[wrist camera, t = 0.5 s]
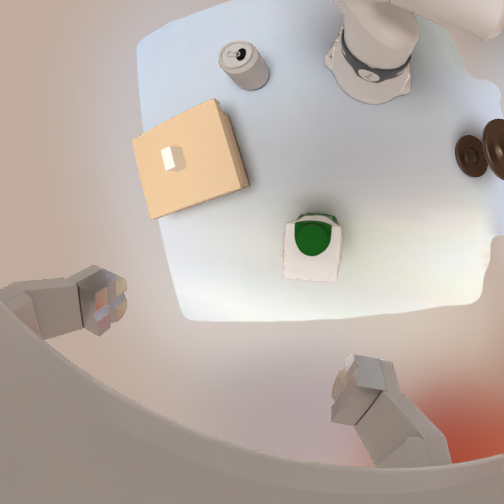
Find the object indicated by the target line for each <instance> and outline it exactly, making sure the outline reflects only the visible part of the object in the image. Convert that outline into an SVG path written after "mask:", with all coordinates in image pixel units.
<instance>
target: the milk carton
mask: <svg viewBox="0 0 504 504" xmlns="http://www.w3.org/2000/svg"><path fill="white" fill-rule="evenodd" d="M342 246H343V239H342V228H341V226H339V225H338V223H337V220H336V218H335V217H333V216H330V215H326V214H315V213H307V214H302V215H300V216H299V218H298V219H297V220H295V221H291V222H287V223H286V226H285V233H284V247H283V260H284V276H283V278H290V279H301V280H311V281H323V282H334V283H336V281H337V275H338V270H339V264H340V263H341V260H342Z"/></svg>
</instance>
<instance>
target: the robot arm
mask: <svg viewBox="0 0 504 504" xmlns="http://www.w3.org/2000/svg"><path fill="white" fill-rule="evenodd" d="M332 1H333V2H334V3H335V4H336V5H337V7H338V8H339V9H340V11H341V12H342V15H343V20H344V26H343V25H341V26H340V28H339V31H338V34H340V35H339V36H338V37H336V39H335V43H334V44H333V46H332V47H331V49H330V50H329V52H328V54H327V55H326V57H325V59H324V63H325V65H326V66H327V67H328V68H329V69H330V70H331V71H332V72H333V74H334V76H335V78H336V81H337V82H338V84H339V86H340V87H341V88H342V89H343V90H344V91H345V92H346V93H347V94H348V95H349V96H351V97H352V98H354V99H356V100H358V101H361V102H364V103H368V104H382V103H386V102H388V101H390V100H392V99H393V98H395V97H396V96H399V95H406V94H409V93H410V90H411V79H410V59H411V52H412V51H413V49H414V47H415V45H416V44H417V42H418V40H419V34H420V31H419V26H418V23H417V21H416V18H415V16H414V15H413V13H415V14H417V15H419V16H421V17H424V18H426V19H428V20H430V21H432V22H434V23H436V24H438V25H440V26H442V27H444V28H446V29H449V30H452V31H454V32H457V33H459V34H462V35H464V36H467V37H469V38H472V39H474V40H476V41H480V42H481V41H487V40H490V39H492V38H494V37H496V36H497V35H499V34H500V33H501V31H502V30H503V29H504V0H332ZM331 57H332V58H331ZM126 287H127V286H126V281H125V279H124V278H122V277H120V276H118V275H116V274H114V273H112V272H109V271H107V270H105V269H103V268H101V267H98V266H95V265H92V266H90V267H88V268H86V269H84V270H82V271H80V272H78V273H76V274H75V275H73V276H71V277H69V278H67V279H65V278H55V279H43V280H32V281H21V282H14V283H12V284H10V285H8V286H6V287H4V288H2V289H0V504H504V453H503V454H499V455H496V456H492V457H487V458H482V459H478V460H473V461H467V462H462V463H454V464H452V462H451V457H450V453H449V449H448V445H447V441H446V438H445V436H444V434H443V433H442V432H441V431H440V430H439V429H438V428H437V427H436V426H435V425H434V424H433V423H432V422H431V421H430V420H429V419H428V418H427V417H426V416H425V415H424V414H423V413H422V411H421V410H420V409H419V408H418V407H417V406H416V405H415V404H414V403H413V402H412V401H411V400H410V399H409V398H408V397H407V396H406V395H405V394H402V393H401V392H400V388H399V384H398V380H397V376H396V373H395V369H394V366H393V363H392V362H391V361H390V360H384V359H376V358H371V357H367V356H361V355H357V354H352V353H351V354H350V355H349V356H348V357H347V359H346V361H345V369H343V370H341V371H340V372H339V373H338V375H337V377H336V379H335V382H334V385H333V389H332V398H333V399H334V400H335V403H334V404H333V406H332V415H331V422H335V423H340V424H345V425H351V426H355V427H354V428H355V429H356V431H357V433H358V435H359V437H360V438H361V440H362V442H363V443H364V445H365V447H366V449H367V451H368V452H369V454H370V456H371V458H372V459H373V461H374V463H375V465H376V467H358V466H346V465H336V464H328V463H321V462H314V461H308V460H302V459H297V458H292V457H287V456H282V455H277V454H273V453H269V452H265V451H261V450H257V449H254V448H250V447H247V446H243V445H240V444H236V443H233V442H230V441H227V440H224V439H221V438H218V437H215V436H212V435H210V434H207V433H204V432H202V431H199V430H197V429H194V428H191V427H189V426H186V425H184V424H182V423H179V422H177V421H175V420H173V419H170V418H168V417H166V416H164V415H162V414H159V413H157V412H155V411H153V410H151V409H149V408H147V407H145V406H143V405H141V404H139V403H138V402H136V401H134V400H132V399H130V398H128V397H126V396H125V395H123V394H121V393H119V392H118V391H116V390H114V389H112V388H111V387H109V386H108V385H106V384H104V383H103V382H101V381H99V380H98V379H96V378H95V377H93V376H92V375H90V374H89V373H87V372H86V371H84V370H83V369H81V368H80V367H78V366H77V365H75V364H74V363H73V362H71V361H70V360H68V359H67V358H66V357H64V356H63V355H62V354H60V353H59V352H58V351H56V350H55V349H54V348H53V347H51V346H50V345H49V344H48V343H46V342H45V341H44V340H45V339H49V338H53V337H56V336H59V335H63V334H66V333H70V332H73V331H76V330H80V329H82V328H85V329H87V330H89V331H91V332H93V333H94V334H96V335H98V336H101V335H102V334H103V333H104V332H106V331H107V330H108V329H109V328H110V326H111V323H113V322H117V321H119V320H120V319H121V318H122V317H123V315H124V313H125V311H126V307H127V299H126V297H125V295H124V292H125V291H126V289H127V288H126Z"/></svg>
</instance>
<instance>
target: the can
mask: <svg viewBox="0 0 504 504" xmlns="http://www.w3.org/2000/svg"><path fill="white" fill-rule="evenodd" d="M219 65H220V67H221V68H222V69H223V70H224V71H225V72H226V73H227V74H228V75H229V76H230V77H231V78H232V80H233V81H234V82H235V83H236V84H237V85H238V86H239V87H241V88H243V89H245V90H255V89H258V88H260V87H262V86H263V85H264V84H265V83H266V82H267V81H268V78H269V70H268V68H267V66H266V64H265V62H264V61H263V59H262V57H261V56H260V54H259V52H258V51H257V49H256V47H255V46H254V45H252V44H251V43H248V42H245V41H239V40H238V41H232V42H230V43H228V44H226V45H225V46H224V47H223V48H222V49H221V51H220V53H219Z"/></svg>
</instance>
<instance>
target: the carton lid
mask: <svg viewBox="0 0 504 504" xmlns="http://www.w3.org/2000/svg"><path fill="white" fill-rule="evenodd" d="M132 144H133V148H134V153H135V157H136V162H137V166H138V171H139V175H140V179H141V183H142V187H143V191H144V194H145V199H146V202H147V206H148V210H149V213H150V217H151V220H153V219H158V218H161V217H163V216H166V215H169V214H171V213H174V212H177V211H179V210H182V209H185V208H188V207H190V206H193V205H196V204H199V203H202V202H205V201H207V200H210V199H213V198H216V197H219V196H222V195H225V194H228V193H231V192H234V191H237V190H240V189H243V188H245V186H244V183H243V180H242V176H241V173H240V169H239V166H238V163H237V159H236V156H235V153H234V149H233V146H232V143H231V139H230V136H229V133H228V130H227V126H226V123H225V120H224V116H223V113H222V110H221V107H220V103H219V102H218V101H217V100H216V99H214V98H213V99H211V100H208V101H206V102H204V103H202V104H200V105H197V106H195V107H193V108H191V109H189V110H187V111H185V112H183V113H181V114H179V115H177V116H175V117H173V118H171V119H169V120H167V121H165V122H163V123H162V124H160V125H158V126H156V127H154V128H152V129H151V130H149V131H147V132H145V133H144V134H142V135H140V136H139V137H137V138H135V139H133V140H132Z"/></svg>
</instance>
